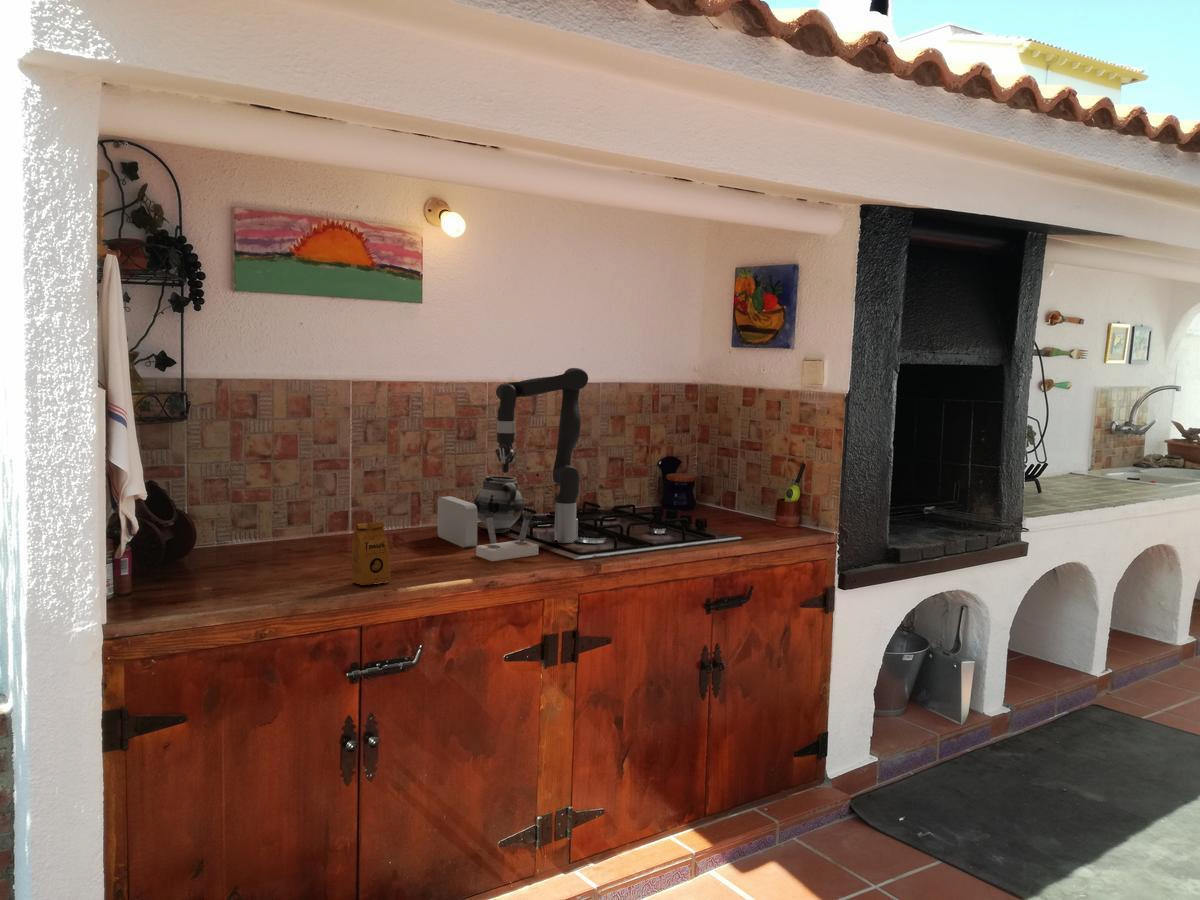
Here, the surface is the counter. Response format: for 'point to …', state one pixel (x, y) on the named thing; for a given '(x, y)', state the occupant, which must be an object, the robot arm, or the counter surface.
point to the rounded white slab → (457, 521)
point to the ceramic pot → (499, 502)
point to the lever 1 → (490, 527)
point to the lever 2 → (525, 525)
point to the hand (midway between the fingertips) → (505, 472)
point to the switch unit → (507, 550)
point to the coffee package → (370, 554)
